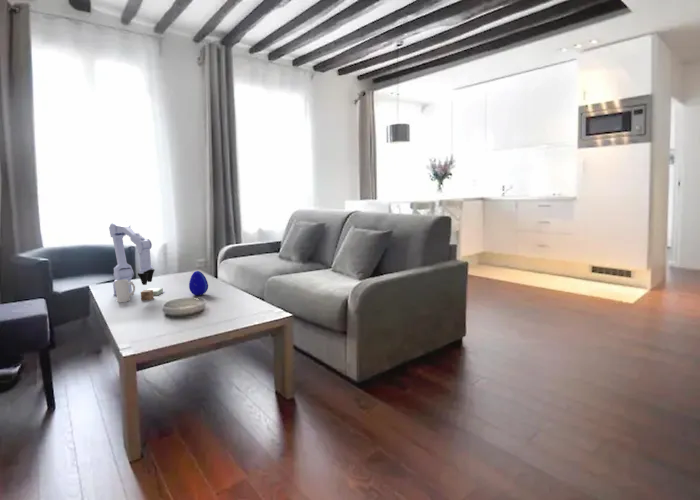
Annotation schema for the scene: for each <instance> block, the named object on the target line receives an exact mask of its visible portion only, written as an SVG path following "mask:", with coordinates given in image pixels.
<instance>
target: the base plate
mask: <svg viewBox="0 0 700 500" xmlns="http://www.w3.org/2000/svg"><path fill="white" fill-rule="evenodd" d="M145 290H153V297H154V296H159V295H160V294H162V293H164V289H163V287H149V288H146V289H145Z"/></svg>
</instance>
